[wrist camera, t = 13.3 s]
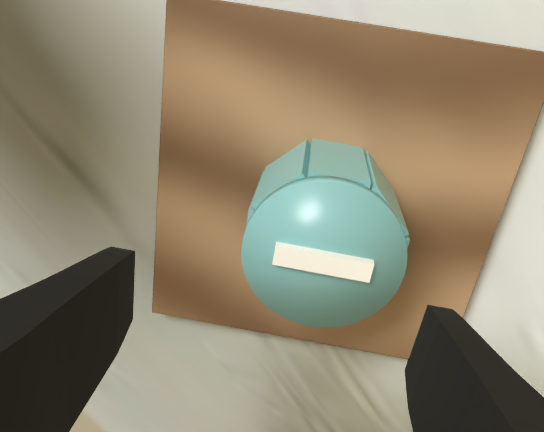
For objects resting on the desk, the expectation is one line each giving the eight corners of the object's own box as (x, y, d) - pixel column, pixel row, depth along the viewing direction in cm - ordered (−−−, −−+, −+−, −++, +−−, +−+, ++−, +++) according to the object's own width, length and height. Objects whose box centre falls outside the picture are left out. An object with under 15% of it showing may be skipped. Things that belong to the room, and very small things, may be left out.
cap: (250, 249, 21) (230, 316, 17) (269, 130, 19) (251, 170, 15) (372, 273, 21) (384, 346, 17) (406, 155, 19) (430, 203, 14)
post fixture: (174, -7, 18) (137, -8, 15) (549, 52, 18) (605, 66, 14) (158, 300, 24) (128, 354, 21) (439, 351, 24) (460, 415, 20)
